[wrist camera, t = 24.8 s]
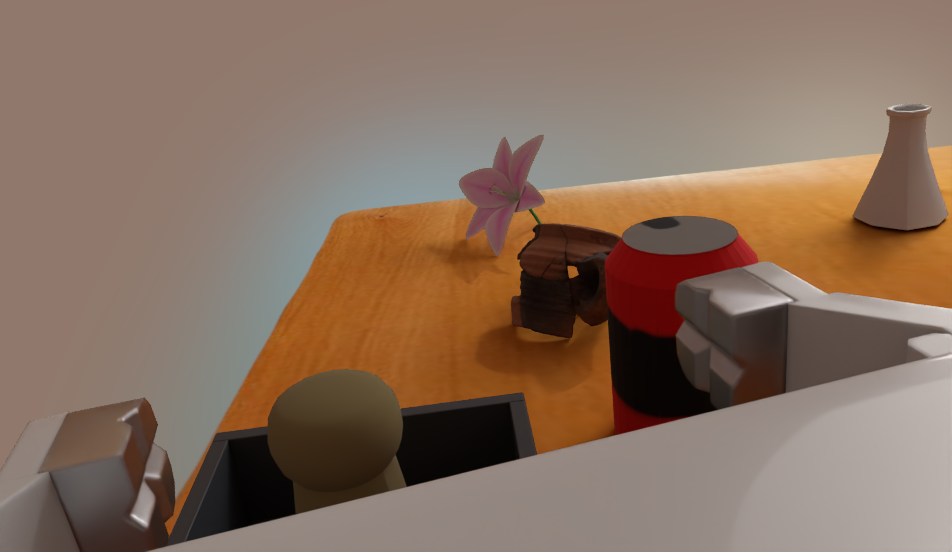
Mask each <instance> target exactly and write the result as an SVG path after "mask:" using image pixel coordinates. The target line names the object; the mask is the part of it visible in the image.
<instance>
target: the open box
mask: <svg viewBox="0 0 952 552" xmlns="http://www.w3.org/2000/svg"><path fill="white" fill-rule="evenodd" d="M401 414H402V420H403V430H402V438H401V442H400V445H399V449H398V451H397V452H396V454H395V455H396V458H397V461H398V463H399V466H400V469H401V472H402V475H403V478H404V480H405V483H406V486H407V487H409V486H413V485H417V484H421V483H425V482H429V481H433V480H437V479H441V478H446V477H450V476H454V475H458V474H462V473H466V472H470V471H474V470H478V469H482V468H486V467H490V466H494V465H498V464H502V463H506V462H510V461H514V460H518V459H522V458H526V457H530V456H534V455H537V452H536V448H535V443H534V439H533V434H532V430H531V425H530V421H529V416H528V412H527V407H526V403H525V398H524V394H523V393H514V394H507V395H499V396H492V397H484V398H477V399H469V400H462V401H454V402H447V403H439V404H432V405H424V406H417V407H409V408H402V409H401ZM292 515H296V511H295V500H294V488H293V481H292V480H290V479H289V478H287V477H286V476H284V474H283V473H282V471H281V470H280V468H279V467H278V465H277V463H276V462H275V460H274V459H273V457H272V455H271V452H270V449H269V445H268V426H267V427H259V428H252V429H244V430H237V431H229V432H222V433H217V434H216V435H215V438H214V440H213V442H212V444H211V446H210V449H209V451H208V453H207V455H206V457H205V460H204V462H203V464H202V466H201V468H200V471H199V473H198V475H197V477H196V479H195V482H194V484H193V486H192V488H191V490H190V493H189V495H188V497H187V499H186V501H185V504H184V506H183V508H182V510H181V512H180V515H179V517H178V519H177V521H176V523H175V526H174V528H173V530H172V532H171V534H170V537H169V539H168V541H167V546H171V545H175V544H179V543H183V542H187V541H191V540H195V539H199V538H203V537H207V536H211V535H215V534H219V533H223V532H227V531H231V530H235V529H239V528H244V527H248V526H252V525H256V524H260V523H264V522H268V521H272V520H276V519H280V518H284V517H288V516H292ZM167 546H166V547H167Z"/></svg>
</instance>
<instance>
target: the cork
mask: <svg viewBox="0 0 952 552" xmlns="http://www.w3.org/2000/svg"><path fill="white" fill-rule="evenodd" d="M402 430H403V420H402V414H401V409H400V406H399V402H398V400H397V398H396V396H395V394H394V392H393V390H392V389H391V388H390V387H389V386H388V385H387V384H386V383H385V382H384V381H382V380H381V379H380V378H379V377H378V376H377V375H374V374H371V373H368V372H365V371H358V370H349V369H345V370H332V371H327V372H323V373H318V374H316V375H313V376H310V377H307V378H305V379H303V380H301V381H300V382H298V383H296V384H294V385H293V386H291V387H290V388H288V389H287V390H286V391H285V392H284V393H282V394H281V395H280V396H279V397H278V398H277V400H276V402H275V404H274V405H273V407H272V410H271V412H270V415H269V417H268V445H269V449H270V452H271V455H272V457H273V459H274V460H275V462H276V463H277V465H278V467H279V468H280V470H281V471H282V473H283V474H284V476H286V477H287V478H289V479H290V480H292V481H293V488H294V500H295V511H296V514H300V513H304V512H308V511H312V510H316V509H320V508H324V507H328V506H332V505H336V504H340V503H345V502H349V501H353V500H357V499H361V498H365V497H369V496H373V495H377V494H381V493H385V492H389V491H393V490H397V489H401V488H405V487H407V486H406V483H405V480H404V478H403V475H402V472H401V469H400V466H399V463H398V461H397V458H396V455H395V454H396V452H397V451H398V449H399V445H400V442H401V438H402Z"/></svg>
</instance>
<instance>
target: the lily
mask: <svg viewBox="0 0 952 552" xmlns="http://www.w3.org/2000/svg"><path fill="white" fill-rule="evenodd" d="M542 141H543V135H539V136H537V137H535V138H533V139H531V140H530V141H528V142H526V143H525V144H524V145H522V146H521V147H519V148H518V149H517V150H516V151H515V152H514V153H513V155H512V152H511V149H510V147H509V144H508V142H507V140H506V138H505V137H504V138H503V139H502V140H501V142H500V144H499V147H498V150H497V152H496V156H495V159H494V163H493V168H484V169H479V170H476V171H474V172H471V173H469V174H467V175H465V176H464V177H462V178H461V179H460V181H459V186H460V188H461V190H462V192H463V193H464V195H465V196H466V197H467V198H468V200H469V201H470V202H471V203H473V204H474V205H476V206H478V208H477V210H476V212H475V213H474V215H473V217H472V220H471V222H470V224H469V227H468V230H467V233H466V239H469V238H470V237H472V236H474V235H475V234H477V233H478V232H480V231H481V230H483V229H484V228H485V227H486V228H485V230H486V235H487V238H488V241H489V244H490V246H491V248H492V250H493V252H494V253H495V255H497V256H499V254H500V253H501V250H502V247H503V244H504V241H505V237H506V234H507V230H508V227H509V224H510V221H511V219H512V216H513V214H514V212H520V211H525V210H529V211H530V212H531V213H532V215H533V216H534V218H535V219H536V221H537V223H538V224H541V222H540V220H539V219H538V217H537V216H536V214H535V213H534V211H533V210H532V208H535V207H538V206H541V205H543V204H544V203H545V201H544V198H543V197H542V195H541V194H540V193H539V192H538V191H537V190H536V189H535V187H534V186H533V185H531V184H530V183H529V182H527V181H526V179H527V176H528V173H529V171H530V167H531V165H532V163H533V161H534V159H535V156H536V154H537V152H538V150H539V148H540V146H541V143H542Z"/></svg>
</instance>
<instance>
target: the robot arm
mask: <svg viewBox="0 0 952 552" xmlns="http://www.w3.org/2000/svg"><path fill="white" fill-rule="evenodd" d="M675 310H676V311H677V312H678V313H679V315H680V316H681V317H682V318H683V319H684V322H683V324H682V325H681V327H680V329H679V330H678V332H677V334H676V344H677V355H678V358H679V362H680V365H681V368H682V371H683V373H684V374H685V376H686V378H687V379H688V381H689V382H690V383H691V384H692V385H693V386H694V387H695V388H696V389H699V390H703V391H706V392H709V393H710V403H711V404H712V405H713V406H714V407H715V408H716V409H717V410H716V411H712V412H708V413H704V414H700V415H696V416H692V417H688V418H684V419H680V420H676V421H672V422H668V423H664V424H660V425H656V426H652V427H647V428H643V429H639V430H635V431H631V432H627V433H623V434H619V435H615V436H611V437H607V438H603V439H599V440H595V441H591V442H587V443H583V444H579V445H575V446H571V447H567V448H563V449H559V450H555V451H551V452H547V453H542V454H538V455H534V456H530V457H526V458H522V459H518V460H514V461H510V462H506V463H502V464H498V465H494V466H490V467H486V468H482V469H478V470H474V471H470V472H466V473H462V474H458V475H454V476H450V477H446V478H441V479H437V480H433V481H429V482H425V483H421V484H417V485H413V486H409V487H405V488H401V489H397V490H393V491H389V492H385V493H381V494H377V495H373V496H369V497H365V498H361V499H357V500H353V501H349V502H345V503H340V504H336V505H332V506H328V507H324V508H320V509H316V510H312V511H308V512H304V513H300V514H296V515H292V516H288V517H284V518H280V519H276V520H272V521H268V522H264V523H260V524H256V525H252V526H248V527H244V528H239V529H235V530H231V531H227V532H223V533H219V534H215V535H211V536H207V537H203V538H199V539H195V540H191V541H187V542H183V543H179V544H175V545H171V546H167V541H168V537H169V535H168V532H167V529H166V526H165V522H166V521H167V520H168V519H169V518H170V517H171V516H172V515H173V512H174V506H175V485H174V478H173V473H172V468H171V464H170V461H169V458H168V454H167V451H165V450H164V449H162V448H161V447H160V446H158V445H157V444H155V443H154V442H153V441H154V437H155V433H156V430H157V426H158V424H157V421H156V418H155V416H154V413H153V410H152V408H151V405H150V404H149V402H148V401H147V400H146V399H145V398H140V399H135V400H131V401H125V402H121V403H116V404H110V405H105V406H100V407H95V408H90V409H85V410H81V411H75V412H72V413H70V412H65V413H61V414H58V415H54V416H49V417H45V418H41V419H37V420H33V421H30V422H28V424H27V425H26V427H25V429H24V431H23V432H22V434H21V436H20V438H19V439H18V441H17V443H16V445H15V446H14V448H13V449H12V451H11V453H10V455H9V456H8V458H7V460H6V461H5V464H4V465H3V467H2V468H1V470H0V552H952V309H948V308H941V307H934V306H927V305H920V304H913V303H906V302H900V301H893V300H886V299H879V298H872V297H865V296H858V295H852V294H845V293H838V292H836V293H831V294H826V293H825V292H823V291H821V290H819V289H818V288H816V287H814V286H812V285H811V284H809V283H807V282H805V281H804V280H802V279H800V278H798V277H796V276H795V275H793V274H791V273H789V272H788V271H786V270H784V269H782V268H781V267H779V266H777V265H775V264H773V263H772V262H760V263H756V264H753V265H749V266H745V267H742V268H740V267H737V268H733V269H729V270H725V271H721V272H717V273H713V274H709V275H704V276H700V277H696V278H692V279H688V280H684V281H682V282H680V283H679V284H677V287H676V292H675ZM166 546H167V547H166Z"/></svg>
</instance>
